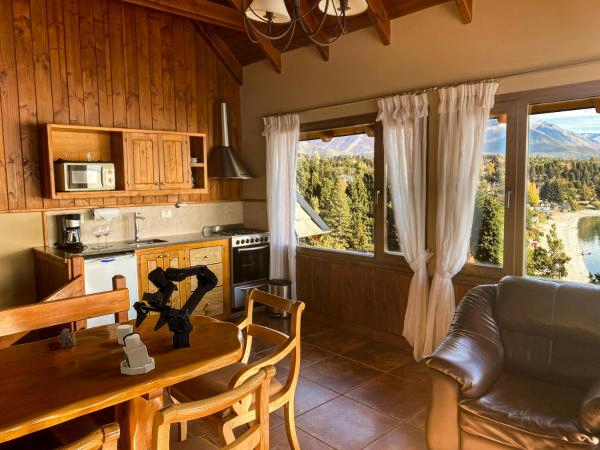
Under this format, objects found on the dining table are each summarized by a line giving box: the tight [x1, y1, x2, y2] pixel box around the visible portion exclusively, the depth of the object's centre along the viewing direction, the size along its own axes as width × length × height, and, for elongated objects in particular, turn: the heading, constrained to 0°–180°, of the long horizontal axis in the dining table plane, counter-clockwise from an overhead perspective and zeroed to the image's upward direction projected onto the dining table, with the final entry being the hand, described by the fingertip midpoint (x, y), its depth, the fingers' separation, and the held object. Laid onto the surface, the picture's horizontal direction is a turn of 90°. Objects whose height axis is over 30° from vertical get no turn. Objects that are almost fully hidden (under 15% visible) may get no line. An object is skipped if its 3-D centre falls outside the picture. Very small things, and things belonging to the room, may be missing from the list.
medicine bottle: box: [122, 331, 150, 368], centre depth 172 cm, size 7×7×12 cm
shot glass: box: [115, 324, 134, 345], centre depth 200 cm, size 7×7×7 cm
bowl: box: [120, 356, 156, 376], centre depth 173 cm, size 12×12×2 cm
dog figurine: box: [57, 328, 76, 348], centre depth 198 cm, size 12×6×7 cm, turn 37°
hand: (145, 329), depth 176 cm, fingers open, 9 cm apart
